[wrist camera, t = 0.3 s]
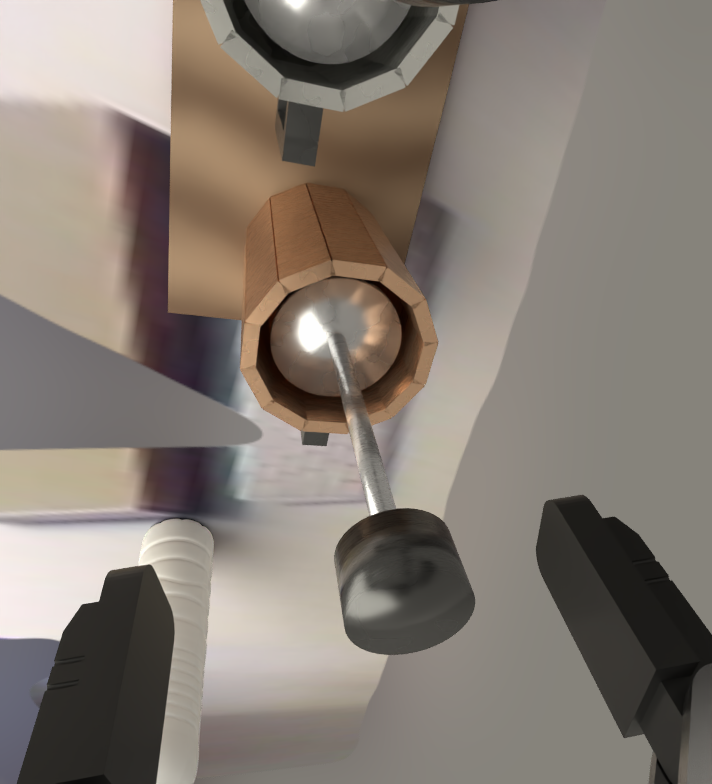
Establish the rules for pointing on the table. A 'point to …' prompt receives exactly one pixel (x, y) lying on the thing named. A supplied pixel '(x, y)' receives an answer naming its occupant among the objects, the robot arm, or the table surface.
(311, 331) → the black knob plunger
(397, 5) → the steel plunger
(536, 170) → the table surface
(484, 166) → the table surface
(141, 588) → the robot arm
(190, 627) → the water bottle
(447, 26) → the steel carafe
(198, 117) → the board
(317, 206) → the copper carafe
